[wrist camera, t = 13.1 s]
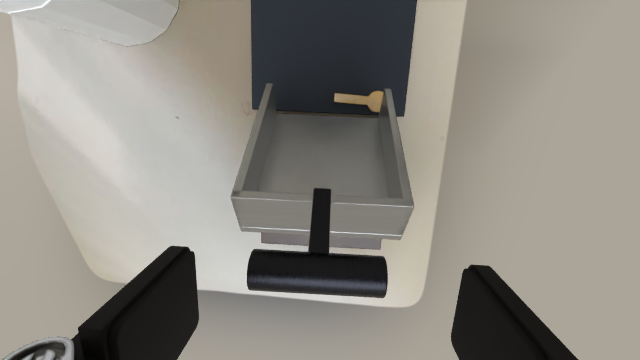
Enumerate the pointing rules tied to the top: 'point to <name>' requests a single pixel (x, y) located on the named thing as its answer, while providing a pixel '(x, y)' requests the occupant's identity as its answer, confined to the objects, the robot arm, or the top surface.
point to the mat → (331, 52)
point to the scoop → (322, 197)
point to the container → (100, 17)
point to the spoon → (362, 100)
